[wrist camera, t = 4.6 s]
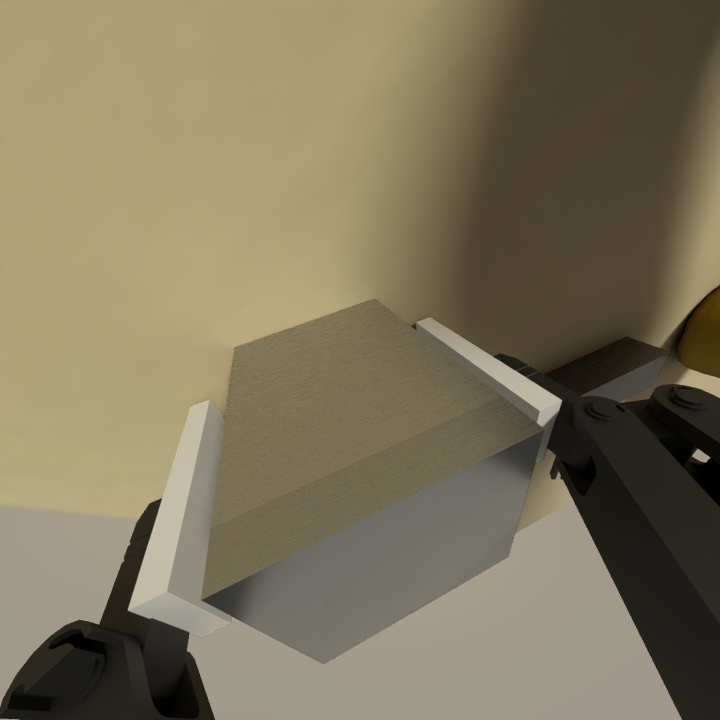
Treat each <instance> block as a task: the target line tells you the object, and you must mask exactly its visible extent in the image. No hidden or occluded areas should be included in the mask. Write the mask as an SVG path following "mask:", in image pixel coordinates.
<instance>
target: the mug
mask: <svg viewBox="0 0 720 720" xmlns="http://www.w3.org/2000/svg"><path fill="white" fill-rule="evenodd" d="M678 360H679V361H680V362H681V363H682V364H683V365H684V366H685V367H687V368H689V369H692V370H695V371H698V372H700V373H703V374H707V375H711V376H715V377H718V378H720V287H719V288H718V289H717V290H715V291H714V292H713V293H711V294H710V295H709V296H707V297H706V298H705V299H704V300H703V301H702V302H701V304H700V305H699V306H698V307H697V309H696V310H695V311H694V312H693V314H692V316H691V317H690V319H689V320H688V322H687V323H686V329H685V332H684V335H683V337H682V338H681V340H680V342H679V345H678Z"/></svg>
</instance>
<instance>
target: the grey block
mask: <svg viewBox="0 0 720 720" xmlns="http://www.w3.org/2000/svg"><path fill="white" fill-rule="evenodd" d="M544 431H545V429H544V428H543V427H542V426H540V425H539V424H538V423H536V422H535V421H534V420H532V419H531V418H530V417H529V416H527V415H526V414H525V413H523V412H522V411H521V410H519V409H518V408H517V407H515V406H514V405H513V404H512V403H510V402H509V401H508V400H506V399H505V398H504V397H502V396H501V395H500V394H498V393H497V392H496V391H495V390H493V389H492V388H491V387H489V386H488V385H487V384H485V383H484V382H483V381H481V380H480V379H479V378H478V377H476V376H475V375H474V374H472V373H471V372H470V371H468V370H467V369H466V368H465V367H463V366H462V365H461V364H459V363H458V362H457V361H455V360H454V359H453V358H451V357H450V356H449V355H448V354H446V353H445V352H444V351H442V350H441V349H440V348H438V347H437V346H436V345H434V344H433V343H432V342H431V341H429V340H428V339H427V338H425V337H424V336H423V335H421V334H420V333H419V332H417V331H416V330H415V329H414V328H412V327H411V326H410V325H408V324H407V323H406V322H404V321H403V320H402V319H401V318H399V317H398V316H397V315H395V314H394V313H393V312H391V311H390V310H389V309H387V308H386V307H385V306H384V305H382V304H381V303H380V302H378V301H377V300H376V299H373V300H371V301H368V302H365V303H362V304H359V305H356V306H353V307H350V308H348V309H345V310H342V311H339V312H336V313H333V314H330V315H327V316H325V317H322V318H319V319H316V320H313V321H310V322H307V323H304V324H302V325H299V326H296V327H293V328H290V329H287V330H284V331H281V332H279V333H276V334H273V335H270V336H267V337H264V338H261V339H258V340H256V341H253V342H250V343H247V344H244V345H241V346H238V347H235V349H234V356H233V364H232V371H231V379H230V386H229V394H228V401H227V409H226V416H225V424H224V431H223V439H222V446H221V454H220V461H219V469H218V476H217V483H216V491H215V498H214V506H213V513H212V521H211V528H210V536H209V543H208V551H207V558H206V566H205V573H204V581H203V588H202V596H201V601H203V602H205V603H207V604H209V605H211V606H213V607H215V608H217V609H219V610H220V611H222V612H224V613H226V614H228V615H230V616H232V617H234V618H236V619H238V620H240V621H242V622H244V623H246V624H248V625H249V626H251V627H253V628H255V629H257V630H260V631H261V632H263V633H265V634H267V635H269V636H271V637H272V638H274V639H276V640H278V641H280V642H282V643H284V644H286V645H288V646H290V647H291V648H293V649H295V650H297V651H299V652H301V653H303V654H305V655H307V656H309V657H311V658H313V659H315V660H316V661H319V662H320V663H322V664H325V663H327V662H329V661H330V660H332V659H334V658H336V657H337V656H339V655H341V654H342V653H344V652H346V651H347V650H349V649H351V648H353V647H354V646H356V645H358V644H360V643H361V642H363V641H365V640H366V639H368V638H370V637H371V636H373V635H375V634H377V633H379V632H380V631H382V630H383V629H385V628H387V627H389V626H391V625H392V624H394V623H396V622H397V621H399V620H401V619H403V618H404V617H406V616H408V615H409V614H411V613H413V612H414V611H416V610H418V609H420V608H421V607H423V606H425V605H426V604H428V603H430V602H432V601H434V600H435V599H437V598H439V597H440V596H442V595H444V594H446V593H447V592H449V591H451V590H452V589H454V588H456V587H457V586H459V585H461V584H463V583H464V582H466V581H468V580H470V579H471V578H473V577H475V576H476V575H478V574H480V573H482V572H483V571H485V570H487V569H489V568H490V567H492V566H493V565H495V564H497V563H499V562H501V561H502V560H504V559H506V558H507V557H508V556H509V553H510V549H511V545H512V542H513V539H514V535H515V532H516V528H517V525H518V521H519V518H520V514H521V511H522V507H523V504H524V500H525V497H526V494H527V490H528V487H529V483H530V480H531V476H532V473H533V469H534V466H535V462H536V459H537V455H538V452H539V448H540V445H541V441H542V438H543V434H544Z"/></svg>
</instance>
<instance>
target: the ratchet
mask: <svg viewBox="0 0 720 720" xmlns="http://www.w3.org/2000/svg"><path fill="white" fill-rule="evenodd" d="M669 354H670V352H669V351H666V350H663V349H660V348H658V347H655V346H652V345H649V344H646V343H643V342H640V341H638V340H635V339H632V338H629V337H626V338H624V339H622V340H620V341H617V342H615V343H613V344H611V345H609V346H606V347H604V348H602V349H600V350H598V351H595V352H593V353H591V354H589V355H587V356H584V357H582V358H580V359H578V360H576V361H573V362H571V363H569V364H567V365H565V366H562V367H560V368H558V369H556V370H554V371H551V372H549V373H547V374H545V376H547V377H549V378H551V379H552V380H554V381H556V382H558V383H559V384H561V385H563V386H564V387H566V388H568V389H570V390H571V391H573V392H575V393H576V394H578V395H580V396H582V397H586V396H601V397H605V398H609V399H613V400H615V401H617V402H620V401H622V400H624V399H626V398H628V397H630V396H632V395H634V394H636V393H638V392H640V391H642V390H644V389H646V388H648V387H650V386H652V385H653V383H654V381H655V379H656V378H657V376H658V374H659V372H660V370H661V369H662V367H663V365H664V363H665V361H666V360H667V358H668V356H669Z"/></svg>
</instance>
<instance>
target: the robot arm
mask: <svg viewBox="0 0 720 720" xmlns="http://www.w3.org/2000/svg"><path fill="white" fill-rule="evenodd" d="M416 330H417V332H419V333H420V334H421V335H423V336H424V337H425V338H427V339H428V340H429V341H431V342H432V343H433V344H434V345H436V346H437V347H438V348H440V349H441V350H442V351H444V352H445V353H446V354H448V355H449V356H450V357H451V358H453V359H454V360H455V361H457V362H458V363H459V364H461V365H462V366H463V367H465V368H466V369H467V370H468V371H470V372H471V373H472V374H474V375H475V376H476V377H478V378H479V379H480V380H481V381H483V382H484V383H485V384H487V385H488V386H489V387H491V388H492V389H493V390H495V391H496V392H497V393H498V394H500V395H501V396H502V397H504V398H505V399H506V400H508V401H509V402H510V403H512V404H513V405H514V406H515V407H517V408H518V409H519V410H521V411H522V412H523V413H525V414H526V415H527V416H529V417H530V418H531V419H532V420H534V421H535V422H536V423H538V424H539V425H540V426H542V427H543V428H544V429H545V431H544V434H543V438H542V441H541V445H540V448H539V452H538V455H537V459H536V462H535V464H536V463H538V462H540V461H542V460H544V457H545V454H546V451H547V448H548V449H549V450H550V451H552V452H553V453H554V454H555V455H556V457H555V460H554V463H553V466H552V469H551V471H550V475H551V479H556V476H557V474H558V471H559V472H560V474H561V479H563V480H564V482H565V484H566V486H567V489H568V491H569V493H570V495H571V497H572V499H573V501H574V503H575V505H576V506H577V508H578V511H579V513H580V515H581V516H582V519H583V521H584V523H585V525H586V527H587V529H588V531H589V533H590V535H591V537H592V539H593V541H594V543H595V545H596V547H597V549H598V551H599V553H600V555H601V557H602V559H603V561H604V563H605V565H606V567H607V569H608V571H609V573H610V575H611V577H612V579H613V581H614V583H615V585H616V587H617V589H618V591H619V593H620V595H621V597H622V599H623V601H624V603H625V606H626V608H627V610H628V612H629V613H630V616H631V618H632V620H633V622H634V624H635V626H636V628H637V629H638V632H639V634H640V636H641V638H642V640H643V642H644V644H645V646H646V648H647V650H648V652H649V654H650V656H651V658H652V660H653V662H654V664H655V666H656V668H657V670H658V672H659V674H660V676H661V678H662V680H663V682H664V684H665V686H666V688H667V690H668V692H669V694H670V696H671V698H672V700H673V702H674V704H675V706H676V708H677V710H678V712H679V714H680V716H681V718H682V720H720V398H718V397H716V396H714V395H712V394H710V393H708V392H705V391H703V390H701V389H697V388H694V387H690V386H685V385H677V384H669V385H662V386H659V387H657V388H655V390H654V392H653V394H652V395H651V397H650V399H647V400H640V401H633V402H625V403H619V402H617V401H615V400H613V399H609V398H605V397H601V396H586V397H582V396H580V395H578V394H576V393H575V392H573V391H571V390H570V389H568V388H566V387H564V386H563V385H561V384H559V383H558V382H556V381H554V380H552V379H551V378H549V377H547V376H545V375H544V374H542V373H538V371H537V370H535V369H533V368H532V367H528V366H527V364H525V363H523V362H521V361H520V360H518V359H516V358H514V357H510V356H507V355H503V354H498V355H496V356H494V357H493V356H491V355H489V354H488V353H486V352H485V351H483V350H481V349H480V348H478V347H477V346H475V345H473V344H472V343H470V342H469V341H467V340H466V339H464V338H462V337H461V336H459V335H458V334H456V333H454V332H453V331H451V330H450V329H448V328H446V327H445V326H443V325H442V324H440V323H439V322H437V321H435V320H434V319H432V318H431V317H429V318H426V319H423V320H420V321H418V322H416ZM224 424H225V420H224V418H223V417H222V416H221V414H220V413H219V411H218V410H217V409H216V407H215V406H214V405H213V403H212V402H211V401H210V400H207V401H205V402H202V403H200V404H197V405H194V406H192V407H191V408H190V411H189V414H188V417H187V421H186V424H185V427H184V430H183V433H182V437H181V440H180V443H179V446H178V450H177V453H176V456H175V459H174V462H173V466H172V469H171V472H170V475H169V479H168V482H167V485H166V488H165V491H164V495H163V498H161V499H159V500H157V501H154V502H152V503H150V504H149V505H148V507H147V508H146V510H145V511H144V513H143V514H142V516H141V517H140V519H139V520H138V522H137V523H136V526H135V529H134V532H133V534H132V537H131V540H130V545H129V546H128V548H127V550H126V554H125V556H124V562H123V563H122V564H121V567H120V570H119V572H118V575H117V578H116V580H115V583H114V586H113V589H112V591H111V594H110V597H109V599H108V602H107V605H106V608H105V610H104V613H103V616H102V619H101V621H100V624H99V625H98V624H95V623H91V622H88V621H83V620H78V621H75V622H72V623H70V624H67V625H65V626H64V627H62V628H61V629H60V630H58V631H57V632H55V633H54V634H53V635H51V636H50V637H49V638H48V639H47V640H46V641H45V642H44V643H43V644H42V645H41V646H40V647H39V648H38V649H37V650H36V651H35V652H34V653H33V654H32V655H31V656H30V658H29V659H28V660H27V662H26V663H25V664H24V666H23V667H22V668H21V669H20V671H19V672H18V673H17V675H16V676H15V678H14V680H13V682H12V683H11V685H10V687H9V689H8V690H7V692H6V694H5V696H4V698H3V700H2V704H1V707H0V719H20V720H215V718H214V715H213V712H212V709H211V706H210V703H209V701H208V697H207V694H206V691H205V689H204V686H203V682H202V679H201V677H200V674H199V671H198V668H197V665H196V662H195V659H194V658H193V656H192V655H191V653H190V652H187V645H188V639H189V634H192V635H194V636H197V637H199V638H203V637H205V636H207V635H209V634H211V633H213V632H215V631H217V630H219V629H221V628H223V627H225V626H226V625H228V624H230V623H231V616H230V615H228V614H226V613H224V612H222V611H220V610H219V609H217V608H215V607H213V606H211V605H209V604H207V603H205V602H203V601H201V596H202V588H203V581H204V573H205V566H206V558H207V551H208V543H209V536H210V528H211V521H212V513H213V506H214V498H215V491H216V483H217V476H218V469H219V461H220V454H221V446H222V439H223V431H224ZM697 449H700V450H701V451H702V452H704V453H705V454H706V455H708V456H709V457H711V458H710V459H709V460H708V461H707V462H706V463H704V462H700V461H699V460H697V459H695V458H694V457H692V455H693V454H694V453H695V451H696V450H697Z"/></svg>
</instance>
